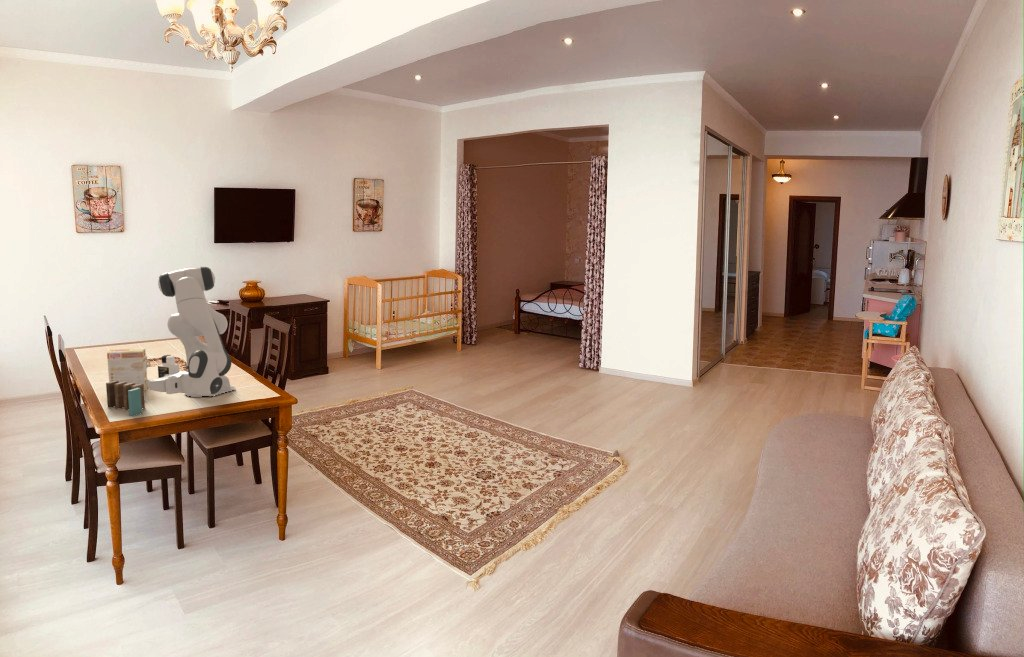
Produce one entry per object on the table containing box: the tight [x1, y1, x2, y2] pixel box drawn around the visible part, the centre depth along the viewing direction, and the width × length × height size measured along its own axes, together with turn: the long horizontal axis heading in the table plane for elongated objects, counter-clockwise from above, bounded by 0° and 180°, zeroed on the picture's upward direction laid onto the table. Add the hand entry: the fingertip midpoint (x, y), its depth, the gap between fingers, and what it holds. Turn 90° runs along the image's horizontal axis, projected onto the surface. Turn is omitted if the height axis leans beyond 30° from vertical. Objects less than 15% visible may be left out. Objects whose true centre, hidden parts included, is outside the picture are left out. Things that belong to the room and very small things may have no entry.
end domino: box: [105, 381, 119, 408], centre depth 294 cm, size 2×5×11 cm, turn 164°
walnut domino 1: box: [114, 382, 127, 409], centre depth 292 cm, size 2×5×11 cm, turn 164°
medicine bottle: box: [157, 354, 180, 378], centre depth 344 cm, size 7×7×12 cm
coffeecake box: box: [106, 348, 149, 392], centre depth 319 cm, size 15×7×20 cm, turn 108°
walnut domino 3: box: [131, 383, 146, 409], centre depth 290 cm, size 2×5×11 cm, turn 164°
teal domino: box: [128, 388, 143, 417], centre depth 283 cm, size 2×5×11 cm, turn 164°
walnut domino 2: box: [123, 382, 135, 411], centre depth 291 cm, size 2×5×11 cm, turn 164°
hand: (156, 379), depth 278 cm, fingers open, 8 cm apart
